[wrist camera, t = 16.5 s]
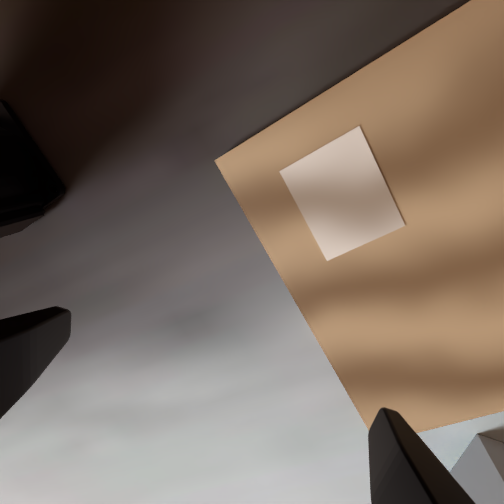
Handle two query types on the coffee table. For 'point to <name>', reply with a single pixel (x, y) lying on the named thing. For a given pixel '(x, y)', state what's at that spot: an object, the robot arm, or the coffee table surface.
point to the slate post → (482, 470)
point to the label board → (396, 220)
